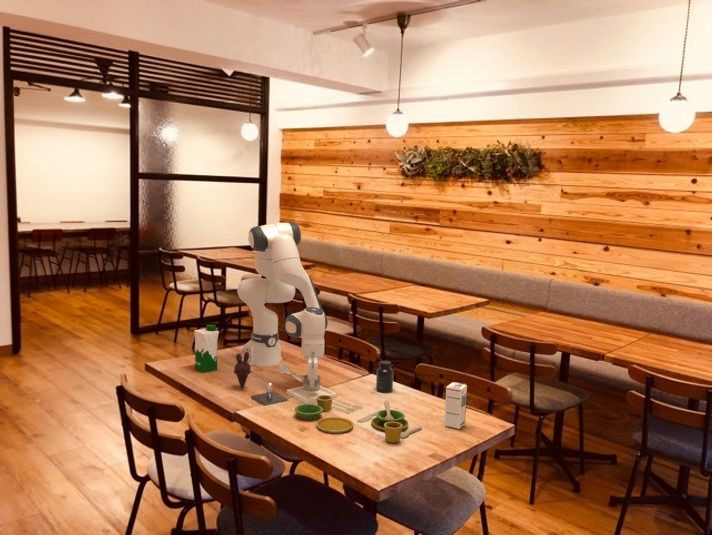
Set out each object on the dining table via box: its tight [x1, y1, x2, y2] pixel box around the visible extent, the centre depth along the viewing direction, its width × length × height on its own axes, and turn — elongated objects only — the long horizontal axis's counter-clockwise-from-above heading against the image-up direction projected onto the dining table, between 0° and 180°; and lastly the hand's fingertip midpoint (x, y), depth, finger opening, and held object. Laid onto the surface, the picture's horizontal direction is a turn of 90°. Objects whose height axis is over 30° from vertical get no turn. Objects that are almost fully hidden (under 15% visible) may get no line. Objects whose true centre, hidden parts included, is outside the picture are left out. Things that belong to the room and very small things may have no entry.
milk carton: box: [193, 323, 220, 374], centre depth 259 cm, size 9×9×20 cm
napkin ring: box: [302, 374, 321, 392], centre depth 234 cm, size 6×6×5 cm
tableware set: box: [294, 395, 423, 444], centre depth 210 cm, size 41×28×6 cm
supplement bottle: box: [375, 360, 394, 394], centre depth 245 cm, size 7×7×12 cm
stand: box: [250, 382, 288, 407], centre depth 229 cm, size 10×10×6 cm
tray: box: [286, 385, 338, 404], centre depth 235 cm, size 14×14×2 cm
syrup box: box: [444, 382, 468, 430], centre depth 211 cm, size 6×6×14 cm
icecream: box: [233, 352, 252, 389], centre depth 239 cm, size 7×7×15 cm
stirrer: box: [278, 364, 306, 384], centre depth 255 cm, size 20×4×5 cm, turn 46°
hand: (311, 384), depth 235 cm, fingers closed on napkin ring, 6 cm apart
